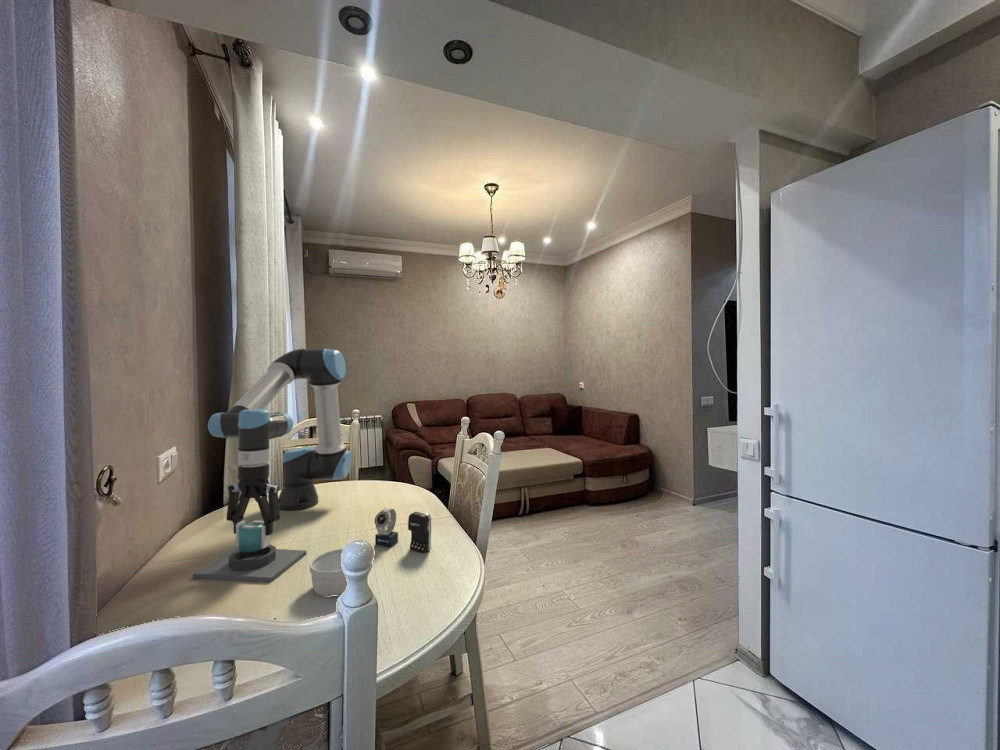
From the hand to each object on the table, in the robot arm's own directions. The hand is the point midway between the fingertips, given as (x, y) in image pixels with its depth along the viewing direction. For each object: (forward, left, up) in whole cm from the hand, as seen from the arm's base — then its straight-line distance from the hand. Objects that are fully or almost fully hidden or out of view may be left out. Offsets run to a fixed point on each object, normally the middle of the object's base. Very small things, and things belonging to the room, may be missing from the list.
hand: (253, 545), depth 112 cm
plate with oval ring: (0, 0, -6) cm, 6 cm away
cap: (0, 0, 0) cm, 0 cm away
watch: (-18, +32, -6) cm, 37 cm away
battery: (-14, +44, -6) cm, 46 cm away
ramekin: (+8, +29, -6) cm, 31 cm away
